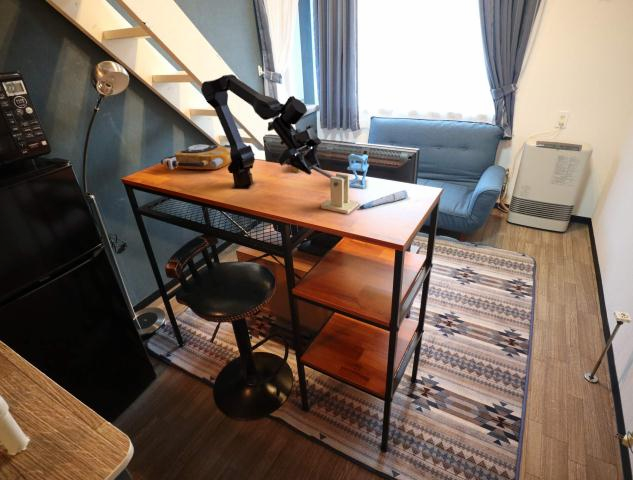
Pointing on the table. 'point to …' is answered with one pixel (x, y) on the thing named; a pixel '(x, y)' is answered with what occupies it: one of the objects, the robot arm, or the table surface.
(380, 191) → the table surface
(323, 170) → the lever
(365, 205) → the pen
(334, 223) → the table surface
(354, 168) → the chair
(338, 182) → the bracket
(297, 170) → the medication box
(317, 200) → the table surface
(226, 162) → the device
